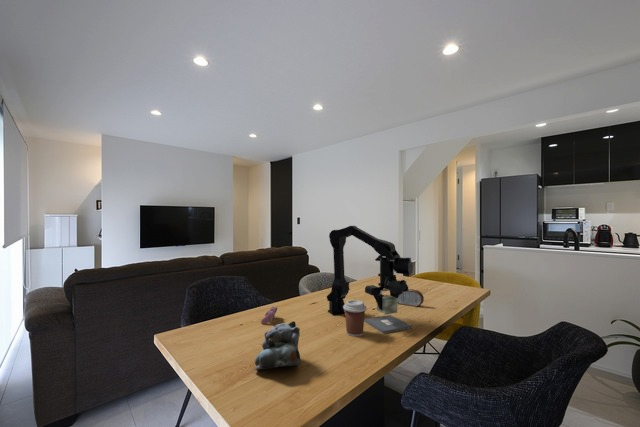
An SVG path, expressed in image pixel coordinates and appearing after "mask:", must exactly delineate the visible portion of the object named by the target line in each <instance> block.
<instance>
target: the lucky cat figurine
mask: <svg viewBox="0 0 640 427" xmlns="http://www.w3.org/2000/svg"><path fill="white" fill-rule="evenodd" d="M300 331H301V330H300V327H299V326H296V321H291V322H289V323H285V322H283V323H279V324H275V325H274V326H273V327H272V328H271V329H270V330H266V332H264V340H263V342H262V345H261V347H262V350H261V351H260V352H259V353H258V354H257V356H256V357H255V360H254V365H255V366H256V367H255V368H253V370H256V371H260V370H265V369H275V368H279V367H280V368H281V367H298V366H301V364H302V363H301V355H300V351H299V341H300V340H299V339H300V334H301V333H300Z"/></svg>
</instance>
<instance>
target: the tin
mask: <svg viewBox="0 0 640 427" xmlns="http://www.w3.org/2000/svg"><path fill="white" fill-rule="evenodd" d="M424 300H425V299H424V295H423V293H422V292H421V291H419V290H418V289H413V288H408V291H406V292H403V294H401V295H399V297H398V299H397V304H399V305H404V306H409V307H414V308H417V307H420V306H421V305H422V304H423V303H424Z"/></svg>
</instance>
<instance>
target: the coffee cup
mask: <svg viewBox="0 0 640 427" xmlns="http://www.w3.org/2000/svg"><path fill="white" fill-rule="evenodd" d="M343 309H344V310H345V311H344V312H345V316H344V317H345V325H346V326H345V327H346V335H348V336H351V337H361V336H363V335H364V325H365V322H364V319H365V314H366V311H367V306H366V305H365V303H364V302H363V301H362V300H359V299H349V300H347V301H345V305H344V306H343Z"/></svg>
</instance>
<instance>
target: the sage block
mask: <svg viewBox="0 0 640 427" xmlns="http://www.w3.org/2000/svg"><path fill="white" fill-rule="evenodd" d="M383 295H384V296H383V298H382V310H380V309H379V307H378V304H377V303H376V310H377V312H380V313H381V314H384V316H387V315H391V314H397V313H398V303H397V298H395V297H393V296H391V295H390V294H383Z"/></svg>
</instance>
